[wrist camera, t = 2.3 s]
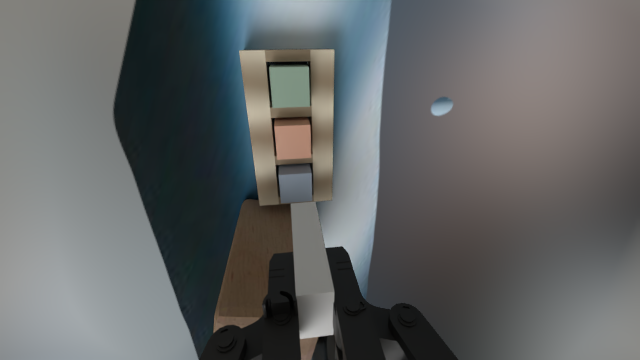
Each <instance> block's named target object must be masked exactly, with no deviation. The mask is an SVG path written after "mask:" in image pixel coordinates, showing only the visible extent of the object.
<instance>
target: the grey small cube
mask: <svg viewBox="0 0 640 360" xmlns="http://www.w3.org/2000/svg"><path fill="white" fill-rule="evenodd" d="M279 185H280V197H281V203H292V202H305V201H312V173H311V169H310V164H309V163H301V164H284V165H279Z"/></svg>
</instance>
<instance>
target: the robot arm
mask: <svg viewBox="0 0 640 360" xmlns="http://www.w3.org/2000/svg"><path fill="white" fill-rule="evenodd" d="M291 219H292V237H293V252H286V253H275V254H273V256H272V258H271V259H270V261H269V279H268V294H267V295H266V296H265V298H264V299H263V303H262V309H263V315H262V317H261V318H260V319H258V320H257V321H256V322H254V323H252V324H250V325H248V326H246V327H243V328H240V327H239V326H236V325H226V326H224V327H221V328H219V329H218V330H217V331H216V332H214V333H213V335H212V336H211V338H210V339H209V341H208V343H207V345H206V347H205V349H204V351H203V353H202V355H201V357H200V359H199V360H301V348H300V339H305V338H313V337H318V340H317V343H316V346H315V349H314V352H313V355H312V358H311V360H458V359H457V357H456V356H455V355H454V354H453V353H452V351H451V350H450V349H449V348H448V346H447V345H446V344H445V342H444V341H443V340H442V339H441V337H440V336H439V335H438V334H437V332H436V331H435V330H434V329H433V327H432V326H431V325H430V324H429V322H428V321H427V320H426V318H425V317H424V316H423V315H422V314H421V312H420V311H418V310H417V308H415V307H413V306H412V305H409V304H405V303H400V304H396V305H394V306H393V307H392V308H391V310H390V309H384V308H379V307H375V306H373V305H371V304H369V303H368V302H367V301H366V300H365V299H364V298H363V297H362V295H361V292H360V289H359V286H358V283H357V279H356V276H355V273H354V270H353V267H352V264H351V260H350V257H349V254H348V252H347V251H346V250H345V249H344V248H343V247H332V248H325V244H324V240H323V235H322V230H321V226H320V221H319V216H318V211H317V207H316V202H304V203H291Z"/></svg>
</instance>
